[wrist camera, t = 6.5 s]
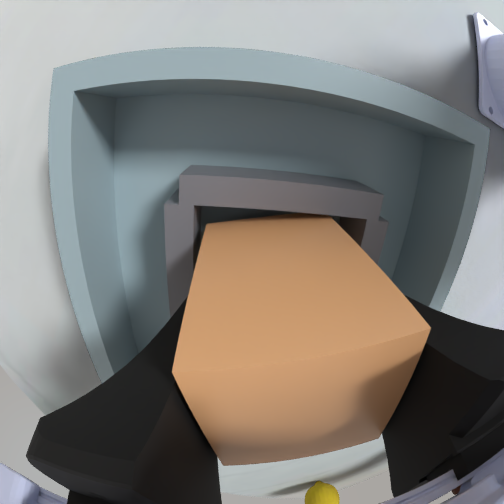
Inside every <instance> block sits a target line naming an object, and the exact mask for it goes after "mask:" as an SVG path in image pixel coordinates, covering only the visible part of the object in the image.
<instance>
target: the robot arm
mask: <svg viewBox="0 0 504 504" xmlns="http://www.w3.org/2000/svg"><path fill="white" fill-rule="evenodd" d="M473 18H474V25H475V32H476V40H477V51H478V66H479V110H480V112H481V113H482V114H483V115H484V116H486V117H487V118H489V119H490V120H492V121H493V122H495V123H496V124H497V125H499V126H500V127H502V128H503V129H504V34H503V33H502V32H501V31H499V30H498V29H497V28H496V27H495V26H494V25H493V24H492V23H490V22H489V21H488V20H487V19H486V18H484V17H483V16H482V15H481V14H479V13H474V14H473ZM403 295H404V294H403ZM404 296H405V297H406V298H407V299H408V300H409V302H410V303H411V304H412V305H413V306H414V308H415V309H416V310H417V311H418V312H419V314H420V315H421V316H422V317H423V319H424V320H425V321H426V322H427V323H428V325H429V326H430V327H431V330H430V332H429V335H428V338H427V341H426V343H425V346H424V348H423V351H422V353H421V356H420V358H419V361H418V363H417V365H416V368H415V370H414V372H413V375H412V377H411V379H410V381H409V383H408V385H407V387H406V389H405V392H404V394H403V396H402V398H401V399H400V401H399V403H398V405H397V407H396V409H395V411H394V413H393V415H392V416H391V418H390V420H389V422H388V423H387V425H386V427H385V429H384V430H383V432H382V435H383V439H384V444H385V449H386V454H387V459H388V465H389V472H390V480H391V490H392V493H393V496H394V498H393V499H390V500H387V501H385V502H382V503H379V504H428V503H430V502H431V501H434V500H436V499H437V498H439V497H441V496H443V495H444V494H446V493H448V492H450V491H451V490H453V489H455V488H456V487H458V486H459V485H461V484H462V486H461V487H460V491H459V493H458V494H457V495H455V496H453V497H452V498H450V499H448V500H446V501H444V502H443V503H441V504H504V330H499V329H494V328H489V327H485V326H481V325H477V324H474V323H471V322H467V321H464V320H461V319H458V318H455V317H452V316H450V315H447V314H445V313H442V312H440V311H437V310H435V309H432V308H430V307H428V306H426V305H424V304H422V303H420V302H418V301H416V300H414V299H412V298H410V297H408V296H406V295H404ZM187 299H188V296H187V297H186V299H185V300H184V301H183V303H182V304H181V305H180V307H179V308H178V309H177V311H176V312H175V313H174V314H173V316H172V317H171V318H170V319H169V321H168V322H167V323H166V324H165V326H164V327H163V328H162V329H161V330H160V331H159V332H158V334H157V335H156V336H155V337H154V338H153V339H152V340H151V341H150V343H149V344H148V345H147V346H146V347H145V348H144V349H143V350H142V351H141V352H140V353H139V354H138V355H136V356H135V357H134V358H133V359H132V360H131V361H130V362H129V363H128V364H127V365H125V366H124V367H123V368H122V369H120V370H119V371H118V372H117V373H115V374H114V375H113V376H111V377H110V378H109V379H107V380H106V381H105V382H104V383H102V384H101V385H99V386H98V387H96V388H95V389H93V390H92V391H90V392H89V393H87V394H86V395H84V396H82V397H81V398H79V399H77V400H76V401H74V402H72V403H70V404H68V405H66V406H64V407H62V408H60V409H58V410H56V411H54V412H52V413H50V414H48V415H46V416H43V417H41V418H40V420H39V422H38V425H37V427H36V430H35V432H34V435H33V437H32V440H31V443H30V445H29V448H28V451H27V454H26V457H27V459H28V461H29V462H30V463H31V464H32V465H33V466H34V467H35V468H37V469H38V470H39V471H41V472H42V473H43V474H45V475H47V476H48V477H50V478H51V479H53V480H54V481H56V482H57V483H59V484H61V485H63V486H64V487H66V488H67V489H69V490H70V491H69V495H68V499H66V498H63V497H61V496H59V495H56V494H54V493H52V492H50V491H47V490H45V489H43V488H41V487H39V486H38V485H37V484H36V483H34V482H33V481H31V480H29V479H28V478H26V477H25V476H23V475H21V474H20V473H18V472H16V471H14V470H13V469H11V468H9V467H8V466H6V465H4V464H3V463H0V504H222V501H221V494H220V484H219V473H218V460H217V455H216V453H215V452H214V450H213V448H212V447H211V445H210V443H209V442H208V440H207V438H206V437H205V435H204V433H203V431H202V430H201V428H200V426H199V424H198V422H197V421H196V419H195V417H194V415H193V413H192V411H191V410H190V408H189V406H188V404H187V402H186V400H185V398H184V396H183V394H182V392H181V390H180V388H179V386H178V384H177V382H176V380H175V378H174V376H173V373H172V369H173V364H174V358H175V354H176V349H177V344H178V339H179V334H180V330H181V325H182V321H183V316H184V312H185V307H186V303H187Z"/></svg>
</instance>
